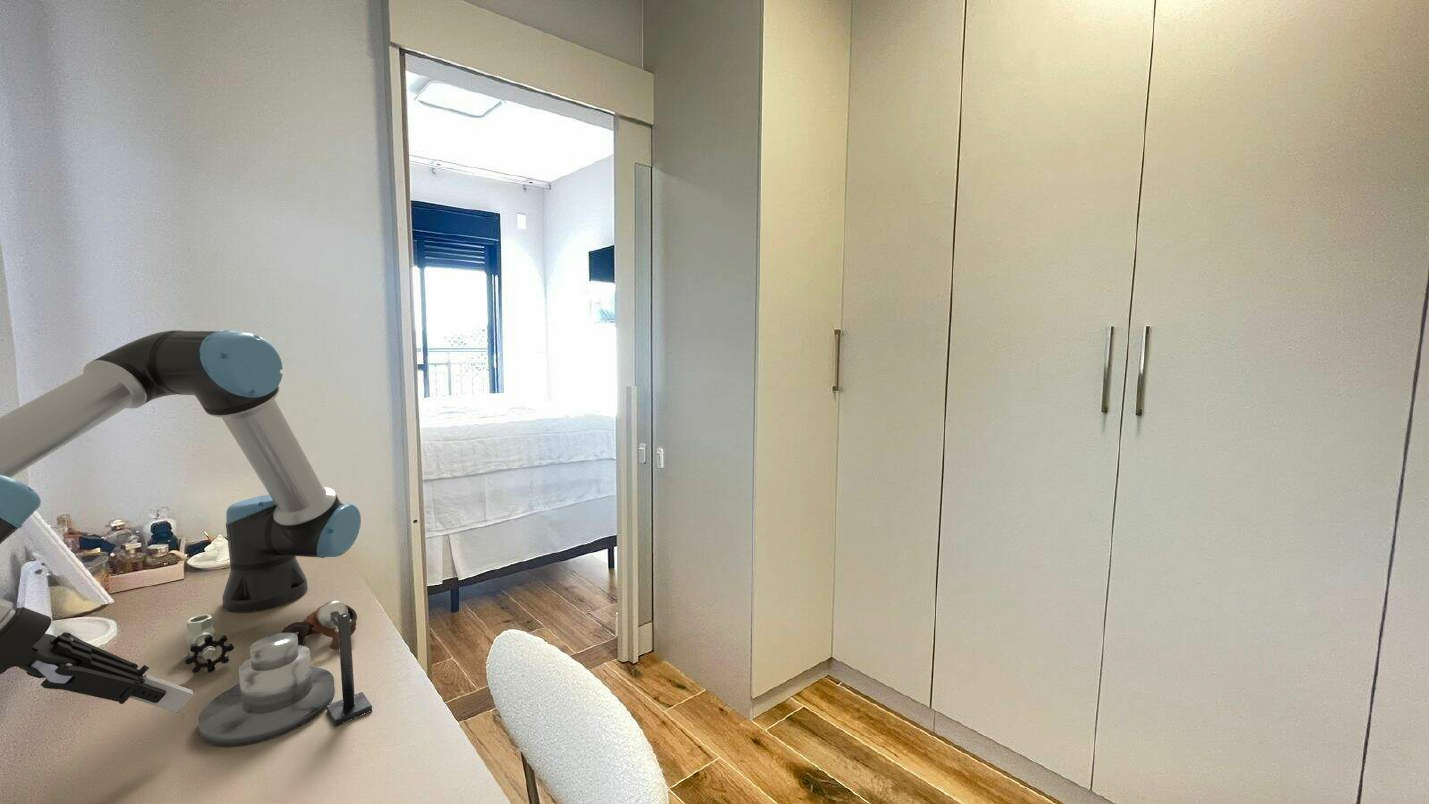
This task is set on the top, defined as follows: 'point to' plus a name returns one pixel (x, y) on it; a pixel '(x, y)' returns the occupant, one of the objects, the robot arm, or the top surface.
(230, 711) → the grey metal flat disc
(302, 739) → the top surface
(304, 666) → the cover
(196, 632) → the valve
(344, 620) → the dial stand
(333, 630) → the brown irregular ringed piece
